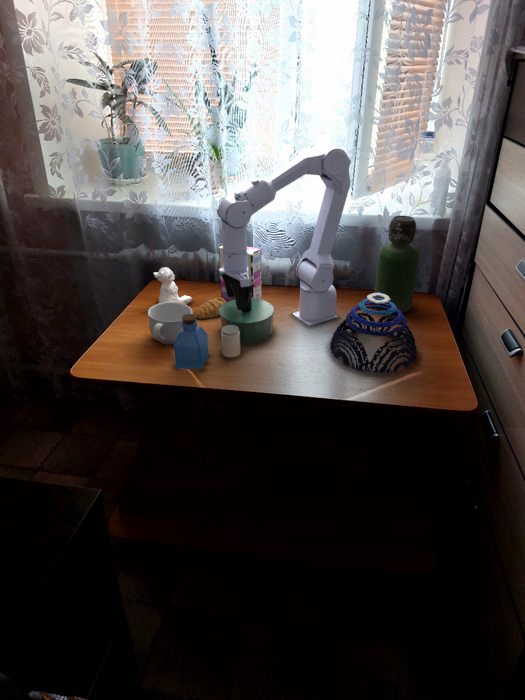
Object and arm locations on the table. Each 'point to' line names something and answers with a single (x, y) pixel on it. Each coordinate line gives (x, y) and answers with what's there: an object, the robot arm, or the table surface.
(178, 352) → the perfume bottle
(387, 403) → the table surface
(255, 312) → the lid
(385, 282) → the green bottle
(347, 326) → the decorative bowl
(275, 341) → the table surface
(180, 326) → the teacup
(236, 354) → the salt shaker
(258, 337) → the pot
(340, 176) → the robot arm
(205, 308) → the pastry
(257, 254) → the candy bar box
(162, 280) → the seated beast figurine
